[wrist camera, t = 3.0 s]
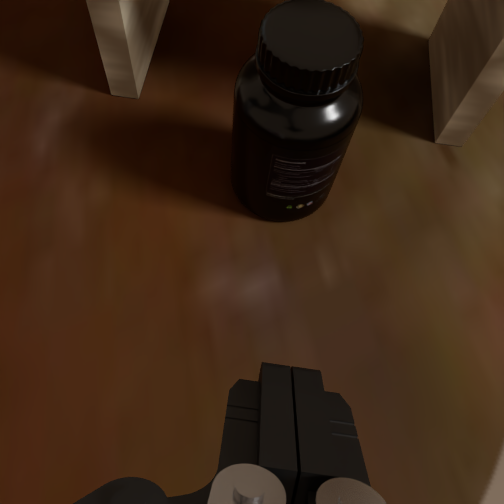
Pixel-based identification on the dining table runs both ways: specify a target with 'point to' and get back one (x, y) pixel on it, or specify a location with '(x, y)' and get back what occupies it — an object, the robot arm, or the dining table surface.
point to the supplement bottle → (295, 109)
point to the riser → (440, 53)
